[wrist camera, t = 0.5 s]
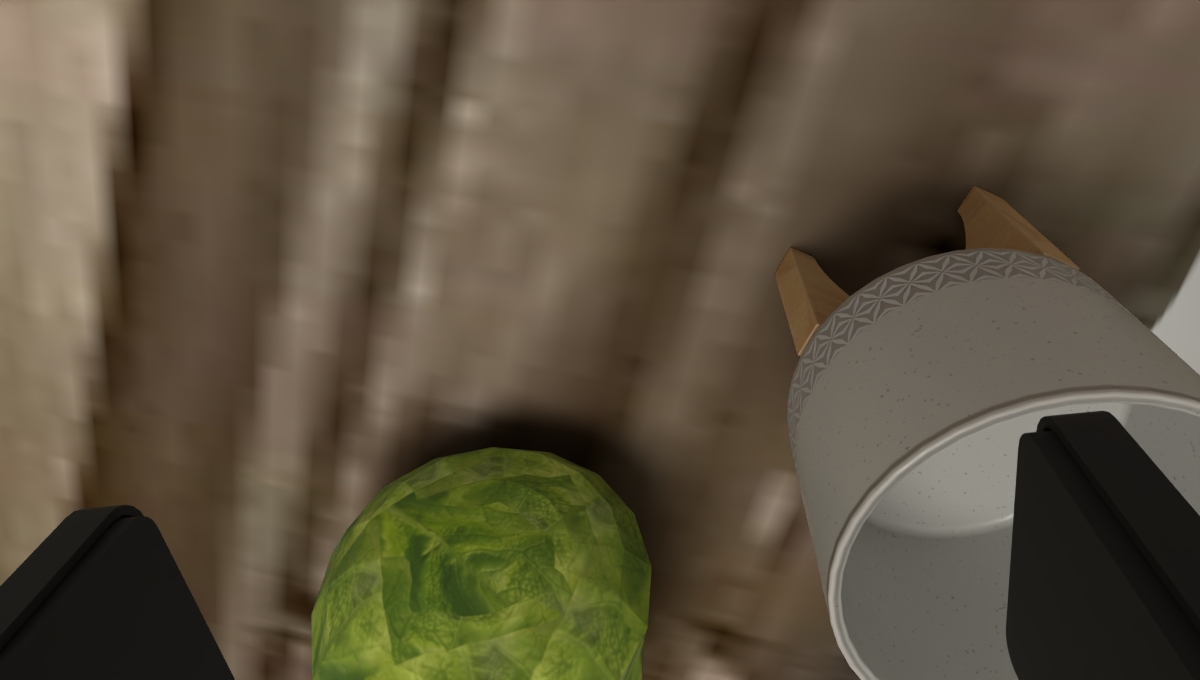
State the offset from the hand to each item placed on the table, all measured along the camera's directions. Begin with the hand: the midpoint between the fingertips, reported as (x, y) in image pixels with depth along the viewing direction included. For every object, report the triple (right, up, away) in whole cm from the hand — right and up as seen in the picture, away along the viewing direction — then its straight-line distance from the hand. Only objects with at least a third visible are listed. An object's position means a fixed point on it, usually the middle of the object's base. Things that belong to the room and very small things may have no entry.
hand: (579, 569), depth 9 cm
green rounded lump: (-5, -10, +39) cm, 41 cm away
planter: (+14, +4, +31) cm, 34 cm away
